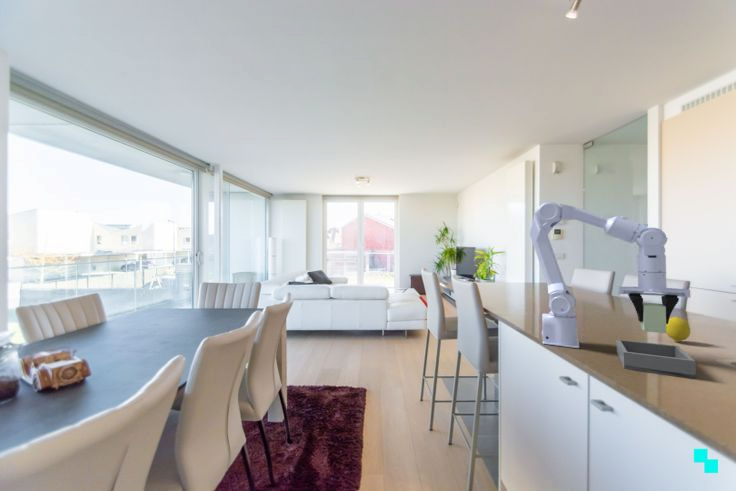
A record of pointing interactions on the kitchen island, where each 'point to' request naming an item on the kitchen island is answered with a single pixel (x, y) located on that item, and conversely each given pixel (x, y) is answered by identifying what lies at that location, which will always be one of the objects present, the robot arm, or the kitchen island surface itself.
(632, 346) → the bin
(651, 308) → the block
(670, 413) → the kitchen island surface
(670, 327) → the lemon
